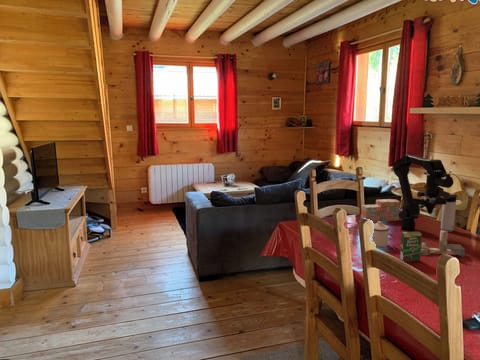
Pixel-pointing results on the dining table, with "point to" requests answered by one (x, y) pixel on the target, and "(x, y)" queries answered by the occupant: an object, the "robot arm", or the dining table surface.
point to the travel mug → (448, 214)
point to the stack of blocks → (382, 210)
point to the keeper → (457, 249)
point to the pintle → (424, 248)
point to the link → (440, 246)
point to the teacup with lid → (380, 234)
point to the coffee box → (410, 246)
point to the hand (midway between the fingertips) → (429, 213)
